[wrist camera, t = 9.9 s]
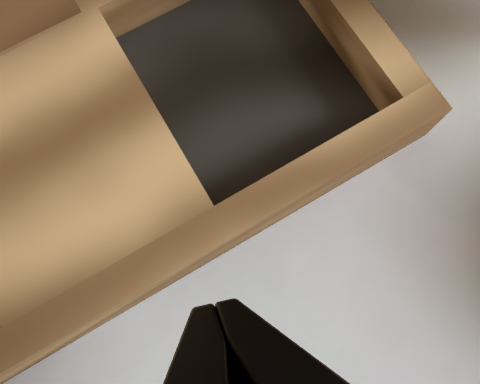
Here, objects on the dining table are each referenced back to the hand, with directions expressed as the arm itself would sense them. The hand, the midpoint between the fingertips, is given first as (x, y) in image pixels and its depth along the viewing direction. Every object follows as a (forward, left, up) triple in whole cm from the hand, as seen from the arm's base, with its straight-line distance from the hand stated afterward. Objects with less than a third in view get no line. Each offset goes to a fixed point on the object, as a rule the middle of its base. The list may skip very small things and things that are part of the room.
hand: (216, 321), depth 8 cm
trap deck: (+9, +12, -12) cm, 19 cm away
